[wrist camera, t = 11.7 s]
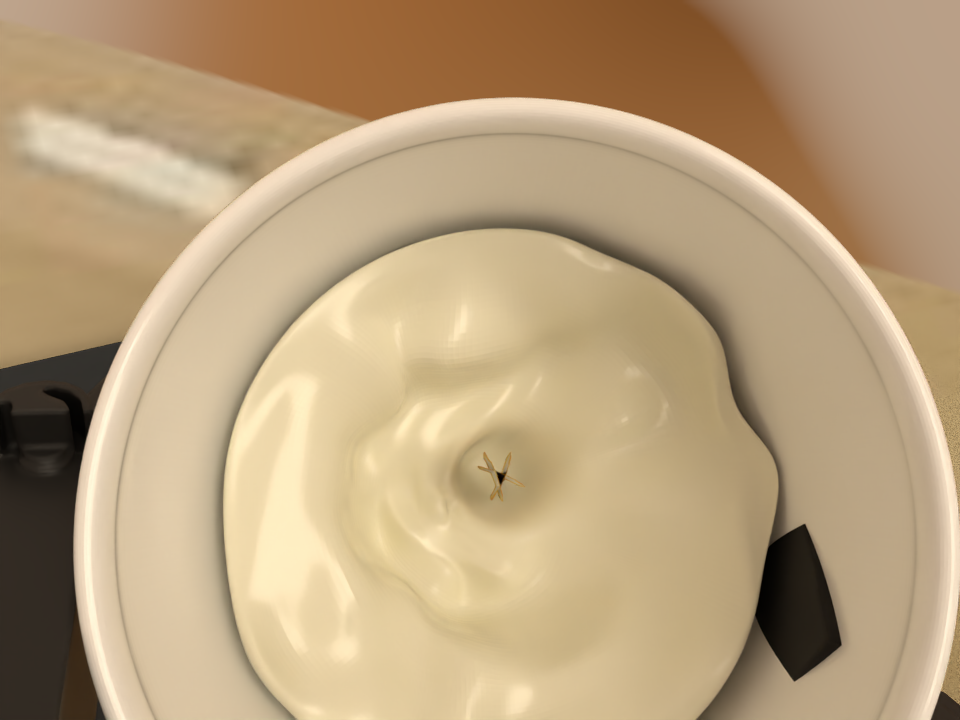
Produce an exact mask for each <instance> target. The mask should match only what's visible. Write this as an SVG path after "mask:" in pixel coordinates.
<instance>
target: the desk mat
mask: <svg viewBox="0 0 960 720" xmlns="http://www.w3.org/2000/svg"><path fill="white" fill-rule="evenodd" d="M121 343H122V342H118V343H113V344H109V345H105V346H100V347H96V348H91V349H87V350H83V351H78V352H74V353H69V354H65V355H61V356H56V357H52V358H47V359H43V360H39V361H34V362H30V363H25V364H21V365H17V366H12V367H8V368H3V369H0V393H1V392H3V391H4V390H6V389H9V388H12V387H14V386H17V385H20V384H23V383H26V382H35V381H43V380H50V381H60V382H67V383H69V384H72V385H74V386H77V387H79V388H82V389H83V391H84V392H85V393H86V394H88V393H89V392H90V391H91V390H92V389H93V388H94V387H95V386H96V385H97V384H98V383H99V382H100V381H101V380H102V379H103V378H104V377H105V376H106V375H107V374H108V372H109V369H110V367H111V365H112V362H113V360H114V358H115V356H116V354H117V351H118V349H119V347H120V345H121ZM95 720H106V719H105V716H104V713H103V711H102V708H101V705H100V702H99V700H98V701H97V709H96V718H95Z"/></svg>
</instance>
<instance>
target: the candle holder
mask: <svg viewBox="0 0 960 720" xmlns="http://www.w3.org/2000/svg"><path fill="white" fill-rule="evenodd" d="M803 524H805V525H806V527H807V529H808V532H809V534H810V536H811V539H812V541H813V544H814V547H815V549H816V552H817V555H818V557H819V560H820V563H821V566H822V569H823V572H824V575H825V578H826V582H827V585H828V588H829V592H830V595H831V599H832V603H833V607H834V611H835V615H836V619H837V624H838V628H839V633H840V638H841V644H842V645H841V646H840V647H839V648H838V649H837V650H836V651H834V652H833V653H832V654H831V655H830V656H828V657H827V658H826V659H825V660H823V661H822V662H821V663H820V664H818V665H817V666H816V667H814V668H813V669H812V670H810V671H809V672H808V673H806V674H805V675H804V676H802V677H801V678H799V679H798V680H796V681H795V682H794V681H793V680H792V678H791V677H790V675H789V674H788V673H787V671H786V670H785V668H784V667H783V666H782V664H781V662H780V661H779V659H778V658H777V656H776V655H775V653H774V652H773V650H772V648H771V647H770V645H769V643H768V642H767V640H766V638H765V636H764V634H763V632H762V630H761V628H760V626H759V624H758V621H757V619H756V616H755V614H756V609H757V605H758V599H759V594H760V589H761V583H762V577H763V571H764V565H765V560H766V555H767V551H768V547H769V546H770V545H771V544H772V543H774V542H775V541H776V540H777V539H779V538H780V537H782V536H783V535H785V534H786V533H788V532H790V531H792V530H793V529H795V528H797V527H799V526H801V525H803ZM73 561H74V581H75V593H76V603H77V611H78V618H79V624H80V630H81V635H82V641H83V645H84V650H85V654H86V658H87V663H88V666H89V670H90V674H91V677H92V681H93V684H94V687H95V691H96V694H97V697H98V700H99V702H100V705H101V708H102V711H103V713H104V716H105V719H106V720H931V718H932V715H933V713H934V710H935V707H936V704H937V701H938V698H939V695H940V692H941V688H942V685H943V682H944V678H945V674H946V670H947V666H948V662H949V658H950V653H951V649H952V644H953V638H954V633H955V627H956V620H957V612H958V604H959V593H960V518H959V507H958V499H957V491H956V484H955V478H954V472H953V467H952V462H951V457H950V453H949V448H948V444H947V440H946V436H945V433H944V429H943V425H942V422H941V419H940V416H939V412H938V409H937V406H936V403H935V401H934V398H933V395H932V392H931V390H930V387H929V385H928V382H927V380H926V377H925V375H924V372H923V370H922V368H921V365H920V363H919V361H918V359H917V357H916V355H915V353H914V351H913V348H912V347H911V345H910V343H909V341H908V339H907V337H906V335H905V333H904V331H903V329H902V328H901V326H900V324H899V322H898V321H897V319H896V317H895V316H894V314H893V312H892V311H891V309H890V308H889V306H888V304H887V303H886V301H885V300H884V298H883V297H882V295H881V294H880V292H879V291H878V290H877V288H876V287H875V285H874V284H873V282H872V281H871V280H870V278H869V277H868V276H867V274H866V273H865V272H864V271H863V269H862V268H861V267H860V265H859V264H858V263H857V262H856V261H855V259H854V258H853V257H852V256H851V255H850V253H849V252H848V251H847V250H846V249H845V248H844V247H843V245H842V244H841V243H840V242H839V241H838V240H837V239H836V238H835V237H834V236H833V235H832V234H831V233H830V232H829V231H828V230H827V229H826V228H825V227H824V226H823V225H822V224H821V223H820V222H819V221H818V220H817V219H816V218H815V217H814V216H813V215H812V214H811V213H810V212H809V211H807V210H806V209H805V208H804V207H803V206H802V205H800V204H799V203H798V202H797V201H796V200H795V199H793V198H792V197H791V196H790V195H788V194H787V193H786V192H785V191H783V190H782V189H781V188H779V187H778V186H777V185H775V184H774V183H773V182H771V181H770V180H768V179H767V178H766V177H764V176H763V175H761V174H760V173H758V172H757V171H755V170H754V169H752V168H751V167H749V166H747V165H746V164H744V163H743V162H741V161H740V160H738V159H736V158H734V157H733V156H731V155H729V154H727V153H726V152H724V151H722V150H720V149H718V148H716V147H714V146H712V145H710V144H708V143H706V142H704V141H702V140H700V139H698V138H696V137H694V136H691V135H689V134H687V133H685V132H682V131H680V130H677V129H675V128H672V127H669V126H667V125H664V124H662V123H659V122H656V121H653V120H650V119H647V118H644V117H640V116H637V115H634V114H630V113H626V112H623V111H619V110H614V109H610V108H606V107H601V106H596V105H591V104H585V103H578V102H572V101H562V100H554V99H541V98H487V99H474V100H465V101H456V102H449V103H443V104H437V105H432V106H427V107H422V108H418V109H413V110H410V111H405V112H402V113H398V114H395V115H391V116H388V117H384V118H381V119H378V120H375V121H372V122H369V123H366V124H364V125H361V126H358V127H356V128H353V129H351V130H348V131H346V132H344V133H341V134H339V135H337V136H335V137H332V138H330V139H328V140H326V141H324V142H322V143H320V144H318V145H316V146H314V147H312V148H310V149H308V150H307V151H305V152H303V153H301V154H299V155H298V156H296V157H294V158H292V159H291V160H289V161H287V162H286V163H284V164H283V165H281V166H279V167H278V168H276V169H275V170H273V171H272V172H270V173H269V174H267V175H266V176H265V177H263V178H262V179H260V180H259V181H258V182H256V183H255V184H254V185H252V186H251V187H250V188H248V189H247V190H246V191H244V192H243V193H242V194H241V195H239V196H238V197H237V198H236V199H235V200H233V201H232V202H231V203H230V204H229V205H228V206H226V207H225V208H224V209H223V210H222V211H221V212H220V213H219V214H218V215H217V216H215V217H214V218H213V219H212V220H211V221H210V222H209V223H208V224H207V225H206V226H205V227H204V228H203V229H202V230H201V231H200V232H199V233H198V234H197V235H196V237H195V238H194V239H193V240H192V241H191V242H190V243H189V244H188V245H187V246H186V248H185V249H184V250H183V251H182V252H181V253H180V255H179V256H178V257H177V258H176V259H175V261H174V262H173V263H172V264H171V266H170V267H169V268H168V270H167V271H166V272H165V273H164V275H163V276H162V278H161V279H160V280H159V282H158V283H157V284H156V286H155V287H154V289H153V290H152V292H151V293H150V295H149V296H148V298H147V299H146V301H145V302H144V304H143V306H142V307H141V309H140V310H139V312H138V314H137V316H136V317H135V319H134V321H133V322H132V324H131V326H130V328H129V330H128V332H127V333H126V335H125V337H124V339H123V341H122V343H121V345H120V347H119V349H118V351H117V354H116V356H115V358H114V360H113V362H112V365H111V367H110V369H109V372H108V374H107V377H106V379H105V382H104V384H103V387H102V390H101V392H100V395H99V398H98V401H97V404H96V407H95V410H94V413H93V417H92V420H91V424H90V427H89V431H88V435H87V439H86V443H85V447H84V452H83V457H82V462H81V467H80V473H79V480H78V487H77V494H76V504H75V516H74V536H73Z"/></svg>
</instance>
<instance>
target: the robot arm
mask: <svg viewBox="0 0 960 720" xmlns="http://www.w3.org/2000/svg"><path fill="white" fill-rule="evenodd" d="M106 377H107V375H106V376H105V377H104V378H103V379H102V380H101V381H100V382H99V383H98V384H97V385H96V386H95V387H94V388H93V389H92V390H91V391H90V392H89V393H88V394H86V393H85V392H84V391H83V389H82V388H79V387H77V386H74V385H72V384H69V383H67V382H60V381H50V380H43V381H35V382H26V383H23V384H20V385H17V386H14V387H12V388H9V389H6V390H4V391H3V392H1V393H0V720H95V718H96V709H97V701H98V697H97V694H96V691H95V687H94V684H93V681H92V677H91V674H90V670H89V666H88V663H87V658H86V654H85V650H84V645H83V641H82V635H81V630H80V624H79V618H78V611H77V603H76V593H75V581H74V561H73V536H74V516H75V504H76V494H77V487H78V480H79V473H80V467H81V462H82V457H83V452H84V447H85V443H86V439H87V435H88V431H89V427H90V424H91V420H92V417H93V413H94V410H95V407H96V404H97V401H98V398H99V395H100V392H101V390H102V387H103V384H104V382H105V379H106ZM755 616H756V619H757V621H758V624H759V626H760V628H761V630H762V632H763V634H764V636H765V638H766V640H767V642H768V643H769V645H770V647H771V648H772V650H773V652H774V653H775V655H776V656H777V658H778V659H779V661H780V662H781V664H782V666H783V667H784V668H785V670H786V671H787V673H788V674H789V675H790V677H791V678H792V680H793V681H794V682H795V681H796V680H798V679H799V678H801V677H802V676H804V675H805V674H806V673H808V672H809V671H810V670H812V669H813V668H814V667H816V666H817V665H818V664H820V663H821V662H822V661H823V660H825V659H826V658H827V657H828V656H830V655H831V654H832V653H833V652H834V651H836V650H837V649H838V648H839V647H840V646H841V645H842V644H841V638H840V633H839V628H838V624H837V619H836V615H835V611H834V607H833V603H832V599H831V595H830V592H829V588H828V585H827V582H826V578H825V575H824V572H823V569H822V566H821V563H820V560H819V557H818V555H817V552H816V549H815V547H814V544H813V541H812V539H811V536H810V534H809V532H808V529H807V527H806V525H805V524H803V525H801V526H799V527H797V528H795V529H793V530H792V531H790V532H788V533H786V534H785V535H783V536H782V537H780V538H779V539H777V540H776V541H775V542H774V543H772V544H771V545H770V546H769V547H768V551H767V555H766V560H765V565H764V571H763V577H762V583H761V589H760V594H759V599H758V605H757V609H756V614H755ZM931 720H960V705H959V704H958V703H956V702H955V701H954V700H953V699H952V698H950V697H949V696H948V695H947V694H946V693H944V692H942V691H941V692H940V695H939V698H938V701H937V704H936V707H935V710H934V713H933V715H932V718H931Z"/></svg>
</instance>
